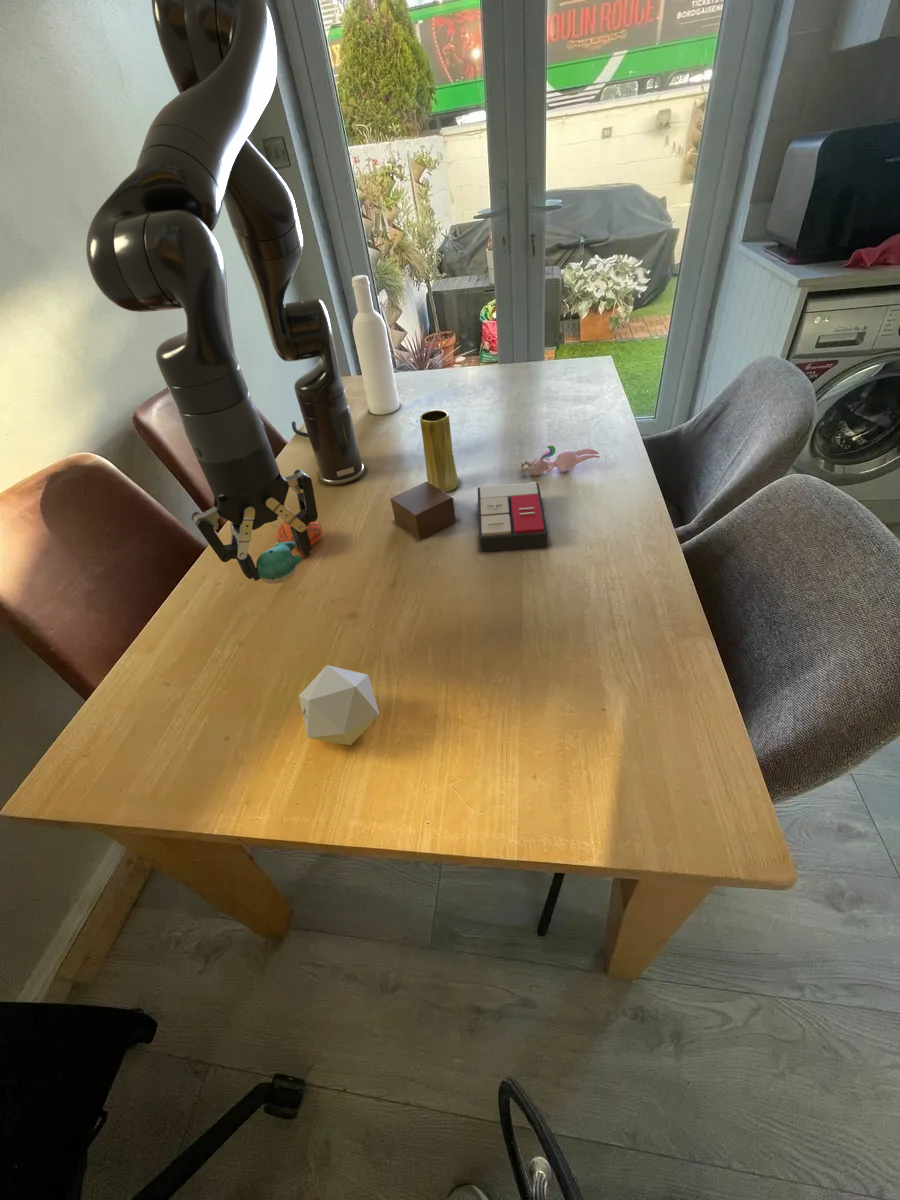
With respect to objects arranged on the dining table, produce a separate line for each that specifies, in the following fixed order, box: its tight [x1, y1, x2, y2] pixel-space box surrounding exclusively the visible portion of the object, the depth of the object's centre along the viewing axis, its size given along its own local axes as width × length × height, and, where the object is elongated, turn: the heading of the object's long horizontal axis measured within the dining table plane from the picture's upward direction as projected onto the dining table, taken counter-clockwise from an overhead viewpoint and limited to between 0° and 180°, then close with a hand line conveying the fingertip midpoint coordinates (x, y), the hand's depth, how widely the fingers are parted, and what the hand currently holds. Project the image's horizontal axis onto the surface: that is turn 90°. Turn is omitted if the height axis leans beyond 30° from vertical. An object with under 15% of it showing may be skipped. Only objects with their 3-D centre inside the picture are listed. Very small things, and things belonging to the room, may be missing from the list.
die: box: [298, 664, 380, 746], centre depth 65 cm, size 8×9×10 cm
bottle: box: [351, 274, 400, 416], centre depth 132 cm, size 8×8×30 cm
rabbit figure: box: [520, 445, 601, 478], centre depth 106 cm, size 6×6×15 cm
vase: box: [419, 409, 459, 493], centre depth 104 cm, size 6×6×14 cm
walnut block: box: [390, 481, 457, 540], centre depth 98 cm, size 8×8×5 cm
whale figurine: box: [255, 542, 304, 585], centre depth 68 cm, size 6×7×4 cm
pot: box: [275, 513, 323, 559], centre depth 96 cm, size 8×8×7 cm
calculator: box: [477, 481, 548, 553], centre depth 95 cm, size 11×4×15 cm
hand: (280, 564), depth 69 cm, fingers closed on whale figurine, 6 cm apart
